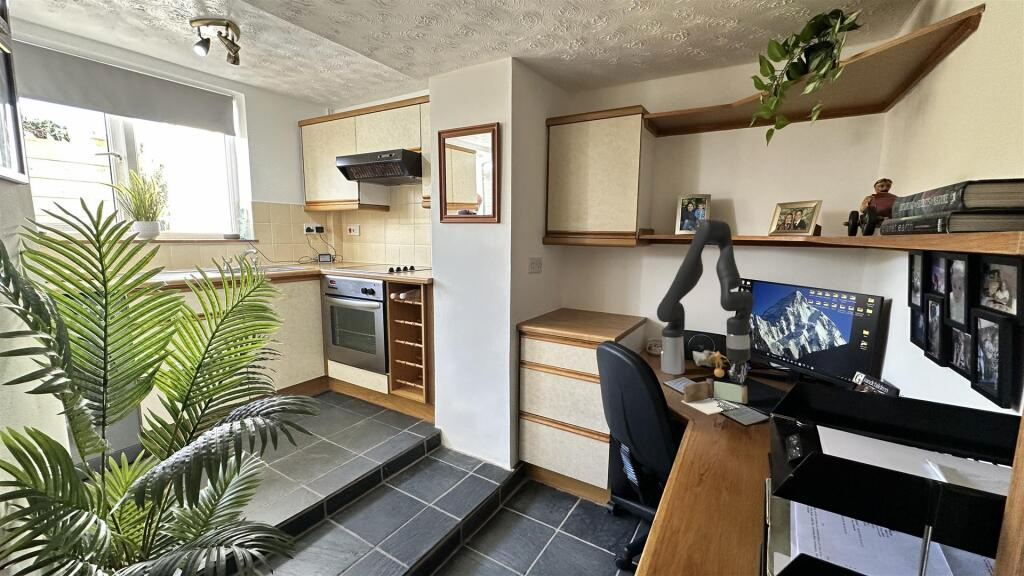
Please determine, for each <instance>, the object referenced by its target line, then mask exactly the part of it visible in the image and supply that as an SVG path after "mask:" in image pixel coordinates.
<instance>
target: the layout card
mask: <svg viewBox="0 0 1024 576" xmlns="http://www.w3.org/2000/svg"><path fill="white" fill-rule="evenodd" d="M703 400H704V399H703ZM703 400H698V401H693V402H688V403H686V402H684V399H682V400H681V403H683V404H685V405H687V406H690V407H691V408H693V409H696V410H698V411H700V412H702V413H703V414H706V415H708V416H709V415H713V414H715V415H716V414H719V413H722V412H721V411H723V409H722V408H720V407H717V406H718V405H719V404H717V403H718V402H720V405H721V404H722V405H723V404H725V405H726V406H729V407H731V408H732V409H733V408H738V409H741V407H740V406H739V405H737V404H734V403H731V402H729V401H728V400H724V399H720V400H718V399H716V398H715V399H713V400H711V399H710V400H711V402H710V401H708V400H707V401H703ZM715 400H716V401H715ZM717 401H718V402H717ZM725 402H726V403H725ZM722 405H721V406H722ZM723 406H724V405H723ZM731 408H730V409H731ZM733 410H734V409H733Z"/></svg>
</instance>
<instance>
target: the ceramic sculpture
mask: <svg viewBox="0 0 1024 576" xmlns="http://www.w3.org/2000/svg"><path fill="white" fill-rule="evenodd" d="M716 353H717V351H716V352H715V351H711V349H705V350H703V352H699V351H695V350H693V351H692V356H693V360H694V362H695V364H696V366H698V367H701V366H706V367H710V368H716V363H715V359H716V357H715V356H714V357H711V358H710V356H712V355H715V354H716ZM709 358H710V359H709ZM708 359H709V361H708ZM716 360H717V359H716ZM720 360H722V366H721V369H722V368H727V367H728V365H726V364H724V363H727V362H728V361H727V359H725V360H724V359H722V358H721V359H720ZM717 365H718V366H717V367H718V368H720V363H719V362H718V363H717Z"/></svg>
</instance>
